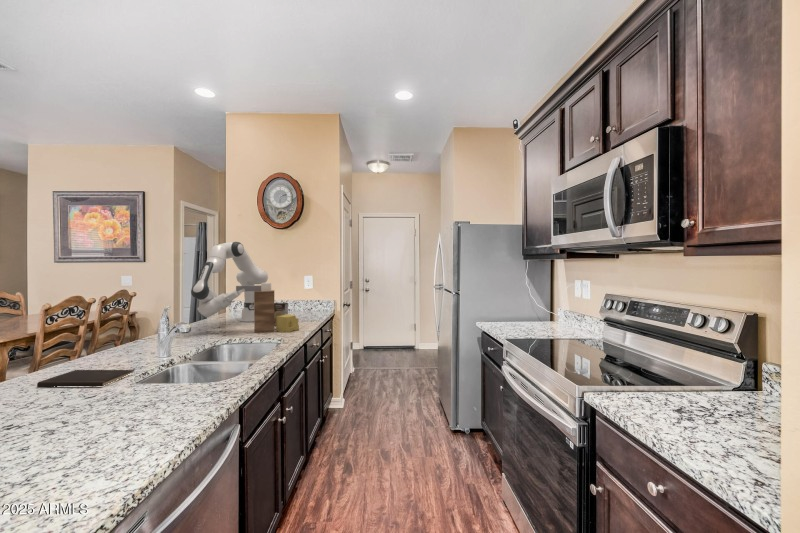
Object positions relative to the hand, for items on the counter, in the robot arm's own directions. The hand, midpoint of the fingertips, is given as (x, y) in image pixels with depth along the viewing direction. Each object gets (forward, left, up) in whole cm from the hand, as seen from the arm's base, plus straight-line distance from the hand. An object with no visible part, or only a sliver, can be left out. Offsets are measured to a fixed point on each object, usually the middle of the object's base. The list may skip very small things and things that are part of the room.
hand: (245, 288), depth 242 cm
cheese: (+4, +26, -28) cm, 38 cm away
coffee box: (-18, +22, -28) cm, 40 cm away
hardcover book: (+91, -48, -28) cm, 107 cm away
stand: (0, +12, -28) cm, 30 cm away
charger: (0, +5, -2) cm, 5 cm away
